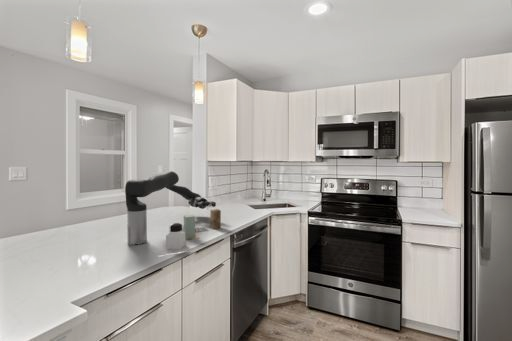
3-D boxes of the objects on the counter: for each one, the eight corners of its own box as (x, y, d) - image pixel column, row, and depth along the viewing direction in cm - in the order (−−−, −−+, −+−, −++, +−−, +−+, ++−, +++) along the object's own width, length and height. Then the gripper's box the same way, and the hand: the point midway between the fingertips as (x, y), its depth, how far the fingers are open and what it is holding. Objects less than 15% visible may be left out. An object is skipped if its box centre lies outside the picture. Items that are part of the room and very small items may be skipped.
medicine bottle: (185, 245, 131) (185, 222, 131) (179, 250, 124) (179, 225, 124) (172, 245, 132) (171, 221, 131) (165, 249, 125) (165, 225, 124)
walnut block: (213, 230, 160) (213, 211, 160) (210, 228, 165) (210, 209, 164) (220, 229, 163) (220, 210, 162) (217, 227, 167) (217, 209, 167)
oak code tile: (182, 242, 137) (182, 241, 137) (178, 237, 145) (178, 236, 145) (200, 239, 141) (200, 238, 141) (195, 234, 150) (195, 233, 150)
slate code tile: (193, 234, 151) (193, 233, 151) (188, 230, 160) (188, 229, 160) (209, 231, 156) (209, 230, 156) (204, 228, 165) (204, 227, 165)
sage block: (186, 239, 140) (186, 217, 139) (183, 236, 144) (183, 215, 144) (195, 237, 142) (195, 216, 142) (192, 235, 147) (192, 214, 146)
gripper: (191, 198, 182) (197, 200, 168) (210, 197, 189) (218, 199, 175) (191, 208, 183) (197, 212, 168) (210, 207, 189) (218, 210, 175)
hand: (208, 205), depth 172 cm, fingers open, 8 cm apart
